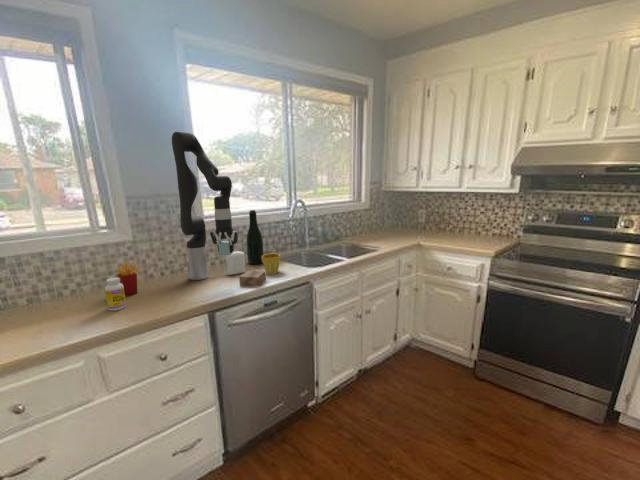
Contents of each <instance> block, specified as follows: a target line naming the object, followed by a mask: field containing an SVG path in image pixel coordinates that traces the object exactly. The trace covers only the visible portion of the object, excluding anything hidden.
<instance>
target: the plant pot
mask: <svg viewBox="0 0 640 480" xmlns="http://www.w3.org/2000/svg"><path fill="white" fill-rule="evenodd" d="M280 262H281V254H279V253H264V255H263V256H262V263H261V264H263V267H264V271H266V275H275V274H277V273H278V272H279V267H280Z"/></svg>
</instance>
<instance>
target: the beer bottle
mask: <svg viewBox="0 0 640 480" xmlns="http://www.w3.org/2000/svg"><path fill="white" fill-rule="evenodd" d="M248 215H249V216H248V217H249V226H248V230H247V234H246V242H245V243H246V257H247V258H246V259H247V260H246V261H247V263H248V264H250V265H260V264H263V263H262V256H263V255H265V250H264V248H265V247H264V240H263V234H262V232H261V230H260V228H259V225H258V220H257V219H258V218H257V212H256V210H255V209H250V210H249V213H248Z"/></svg>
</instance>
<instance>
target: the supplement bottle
mask: <svg viewBox="0 0 640 480" xmlns="http://www.w3.org/2000/svg"><path fill="white" fill-rule="evenodd" d="M105 282H106V286H105V287H104V292H105V299H106V305H107V310H109V311H114V312H115V311H119V310H120V311H121V310H122V309H123V310H124V309H125V308H126V306H127V301H126V296H125V293H124V286H123V284H121V283H120V278H118V276H117V277H110V278H107V279H106V281H105Z"/></svg>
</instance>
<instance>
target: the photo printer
mask: <svg viewBox="0 0 640 480" xmlns="http://www.w3.org/2000/svg"><path fill="white" fill-rule="evenodd" d="M225 256H226V257H225V258H226V273H227V275H228V276H231V275H238V274H244V273H245V272H246V262H245V261H246V259H245V253H244V251H239V250H237V251H233V253H232V254H231V255H225Z"/></svg>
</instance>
